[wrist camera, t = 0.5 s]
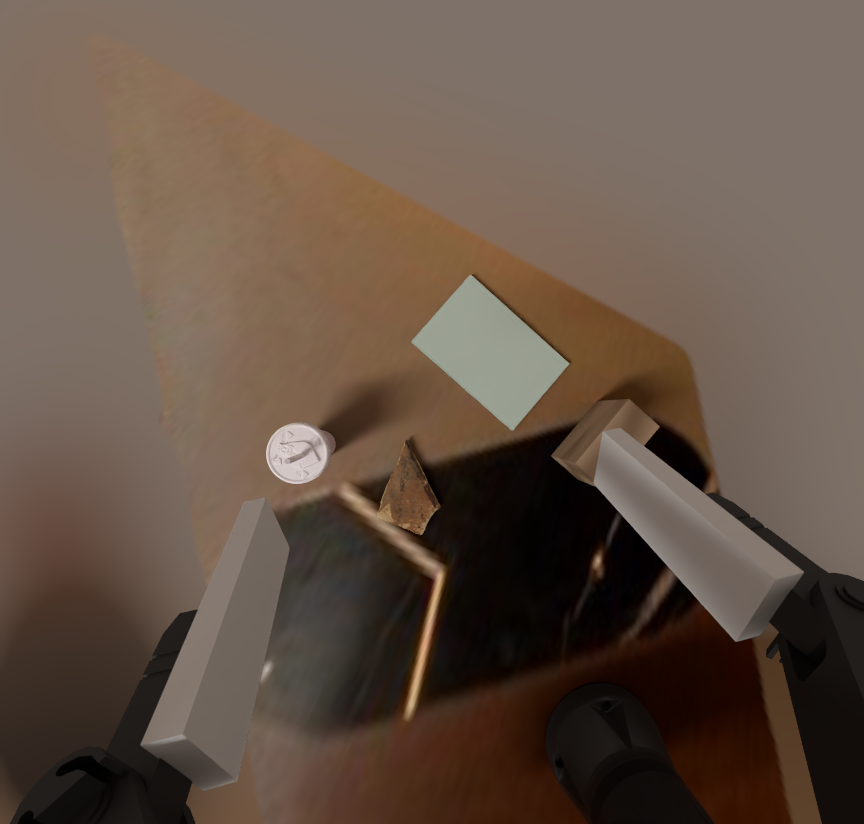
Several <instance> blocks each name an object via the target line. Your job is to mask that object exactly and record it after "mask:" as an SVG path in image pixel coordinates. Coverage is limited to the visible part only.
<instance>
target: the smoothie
mask: <svg viewBox="0 0 864 824" xmlns="http://www.w3.org/2000/svg"><path fill="white" fill-rule="evenodd" d="M335 447H336V442H335V439H334V437H333V436H332V435H331V434H330V433H329V432H326V431H323V430H320V429H319V428H317V427H315V426H314V425H312V424H308V423H304V422H297V423H292V424H288V425H286V426H283V427H282V428H280V429H279V430H277V431H276V432H275V433H274V434H273V435H272V437H271V438H270V440H269V442H268V445H267V450H266V457H267V462H268V465H269V467H270V469H271V470H272V472H273V473H274V474H275V475H276V476H277V477H278V478H280V479H281V480H283V481H285V482H288V483H293V484H301V483H306V482H309V481H311V480H313V479H315V478H317V477H318V476H320V475H321V474H322V472H323V471H324V470H325V469H326V467H327V465H328V463H329V460H330V457H331V455H332V454H333V452H334V450H335Z"/></svg>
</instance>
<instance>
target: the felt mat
mask: <svg viewBox="0 0 864 824" xmlns="http://www.w3.org/2000/svg"><path fill="white" fill-rule="evenodd" d="M411 342H412V343H413V344H414V345H415V346H416V347H417V348H418V349H419V350H421V351H422V352H423V353H424V354H425V355H426V356H427V357H429V358H430V359H431V360H432V361H433V362H434V363H435V364H437V365H438V366H439V367H440V368H441V369H442V370H443V371H444V372H446V373H447V374H448V375H449V376H450V377H451V378H452V379H454V380H455V381H456V382H457V383H458V384H459V385H460V386H462V387H463V388H464V389H465V390H466V391H467V392H468V393H469V394H471V395H472V396H473V397H474V398H475V399H476V400H477V401H479V402H480V403H481V404H482V405H483V406H484V407H485V408H487V409H488V410H489V411H490V412H491V413H492V414H493V415H494V416H496V417H497V418H498V419H499V420H500V421H501V422H502V423H504V424H505V425H506V426H507V427H508V428H509V429H510V430H512V431H513V430H514V429H515V427H516V426H517V425H518V424H519V423H520V421H521V420H522V419H523V418H524V417H525V416H526V414H527V413H528V412H529V411H530V410H531V409H532V407H533V406H534V405H535V404H536V403H537V402H538V400H539V399H540V398H541V397H542V396H543V394H544V393H545V392H546V391H547V390H548V389H549V387H550V386H551V385H552V384H553V383H554V382H555V380H556V379H557V378H558V377H559V376H560V374H561V373H562V372H563V371H564V370H565V369H566V367H567V366H568V365H569V363H568V362H567V361H566V360H565V359H564V358H563V357H562V356H560V355H559V354H558V353H557V352H556V351H555V350H554V349H553V348H552V347H551V346H549V345H548V344H547V343H546V342H545V341H544V340H543V339H542V338H541V337H539V336H538V335H537V334H536V333H535V332H534V331H533V330H532V329H531V328H529V327H528V326H527V325H526V324H525V323H524V322H523V321H522V320H521V319H519V318H518V317H517V316H516V315H515V314H514V313H513V312H512V311H511V310H510V309H508V308H507V307H506V306H505V305H504V304H503V303H502V302H501V301H500V300H498V299H497V298H496V297H495V296H494V295H493V294H492V293H491V292H490V291H488V290H487V289H486V288H485V287H484V286H483V285H482V284H481V283H480V282H478V281H477V280H476V279H475V278H474V277H473V276H472V275H471V274H470V276H469V277H468V278H467V279H466V280H465V281H464V282H463V283H462V285H461V286H460V287H459V288H458V289H457V290H456V291H455V293H454V294H453V295H452V296H451V297H450V298H449V299H448V301H447V302H446V303H445V304H444V305H443V306H442V307H441V308H440V310H439V311H438V312H437V313H436V314H435V315H434V316H433V318H432V319H431V320H430V321H429V322H428V323H427V324H426V325H425V327H424V328H423V329H422V330H421V331H420V332H419V333H418V335H417V336H416V337H415V338H414V339H413V340H412V341H411Z"/></svg>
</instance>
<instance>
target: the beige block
mask: <svg viewBox="0 0 864 824" xmlns="http://www.w3.org/2000/svg"><path fill="white" fill-rule="evenodd" d="M659 427H660V426H659V425H657V424H656V423H655V422H654V421H653V420H652V419H651V418H650V417H649V416H647V415H646V414H645V413H644V412H643V411H642V410H641V409H640V408H639V407H638V406H636V405H635V404H634V403H633V402H632V401H631V400H630V399H620V400H604V401H597V402H596V403H595V404H594V405H593V407H592V408H591V409H590V410H589V411H588V413H587V414H586V415H585V416H584V417H583V418H582V420H581V421H580V422H579V423H578V424H577V426H576V427H575V428H574V429H573V430H572V432H571V433H570V434H569V435H568V436H567V437H566V439H565V440H564V441H563V442H562V443H561V445H560V446H559V447H558V448H557V449H556V451H555V452H554V453H553V454H552V455H551V456H552V457H553V458H554V459H555V460H556V461H558V462H559V463H560V464H561V465H562V466H563V467H564V468H566V469H567V470H568V471H569V472H570V473H571V474H572V475H573V476H575V477H576V478H577V479H578V480H581V481H583V482H586V483H588V484H591V485H593V486H596V485H595V484H594V478H595V472H596V466H597V461H598V455H599V449H600V444H601V438H602V432H603V431H606V430H611V429H616V428H621V429H622V430H624V431H625V432H626V433H628V434H629V435H630V436H631V437H633V438H634V439H635V440H636V441H638V442H639V443H640V444H642V445H643V446H644V445H645V444H646V443H647V441H648V440H649V439H650V438H651V437H652V435H653V434H654V433H655V432H656V430H657V429H658V428H659Z"/></svg>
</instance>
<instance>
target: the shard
mask: <svg viewBox="0 0 864 824" xmlns="http://www.w3.org/2000/svg"><path fill="white" fill-rule="evenodd" d="M439 508H440V504H439V503H438V501H437V499H436V497H435V495H434V493H433V491H432V489H431V487H430V485H429V484H428V481H427V479H426V477H425V473H424V472H423V470H422V468H421V466H420V464H419V462H418V461H417V459H416V457H415V455H414V453H413V452H412V450H411V446H410V444H409V442H408V441H407V440H406V441H405V443H404V446H403V449H402V451H401V454H400V458H399V460H398V463H397V465H396V467H395V469H394V471H393V473H392V475H391V477H390V480H389V482H388V484H387V487H386V490H385V492H384V494H383V497H382V500H381V506H380V508H379V511H378V512H377V517H379V518H381V519H384V520H386V521H387V522H389V523H392V524H395V525H397V526H401V527H403V528H406V529H408V530H411V531H413V532H414V533H416V534H423V532H424V530H425V527H426V525H427V523H428V521H429V519H430V517H431V516H432V515H433V514H434V512H435V511H436V510H438V509H439Z"/></svg>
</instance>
